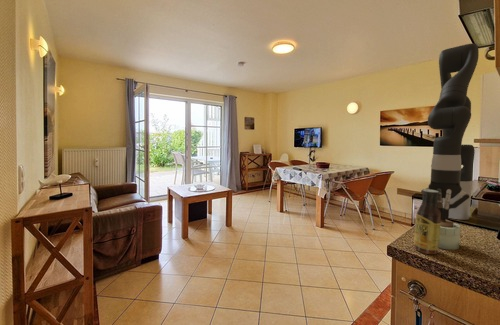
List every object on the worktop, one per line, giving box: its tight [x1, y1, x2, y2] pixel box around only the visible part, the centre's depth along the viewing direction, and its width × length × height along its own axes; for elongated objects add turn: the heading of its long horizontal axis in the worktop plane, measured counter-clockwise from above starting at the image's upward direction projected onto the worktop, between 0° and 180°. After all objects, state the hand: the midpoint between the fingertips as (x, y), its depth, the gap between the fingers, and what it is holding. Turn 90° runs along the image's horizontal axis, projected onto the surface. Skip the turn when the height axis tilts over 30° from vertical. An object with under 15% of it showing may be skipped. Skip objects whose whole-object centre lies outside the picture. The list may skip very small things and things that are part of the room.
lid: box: [440, 219, 454, 228], centre depth 78 cm, size 6×6×4 cm
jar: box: [438, 222, 461, 251], centre depth 78 cm, size 9×9×7 cm
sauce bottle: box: [413, 188, 441, 255], centre depth 73 cm, size 6×6×20 cm
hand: (442, 218), depth 78 cm, fingers closed
